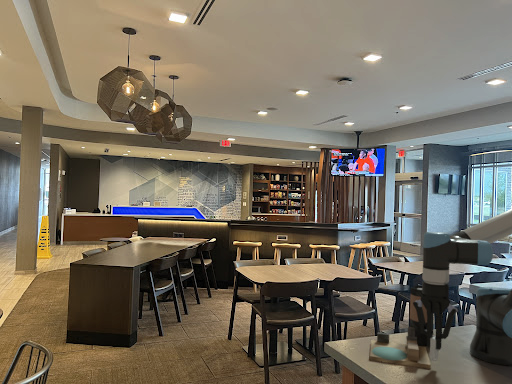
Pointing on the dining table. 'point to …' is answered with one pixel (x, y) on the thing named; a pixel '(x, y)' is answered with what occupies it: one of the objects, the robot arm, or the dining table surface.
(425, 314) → the travel mug
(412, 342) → the leg bar
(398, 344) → the oak board
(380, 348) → the felt pad
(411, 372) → the dining table surface
